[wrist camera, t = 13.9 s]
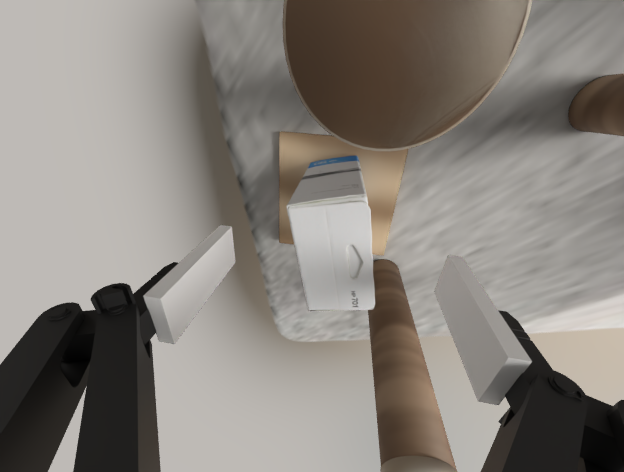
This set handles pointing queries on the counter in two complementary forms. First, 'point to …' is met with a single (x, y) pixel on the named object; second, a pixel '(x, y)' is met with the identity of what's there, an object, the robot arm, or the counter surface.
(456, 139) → the counter surface
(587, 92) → the gate post
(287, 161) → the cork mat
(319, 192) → the ink box
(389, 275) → the corner post
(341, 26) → the gate post
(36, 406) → the robot arm
